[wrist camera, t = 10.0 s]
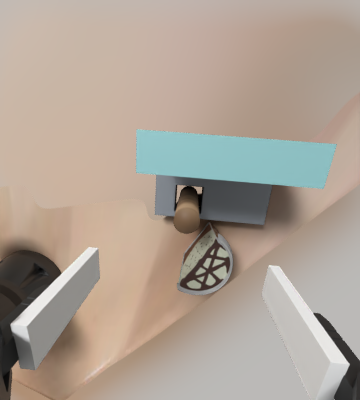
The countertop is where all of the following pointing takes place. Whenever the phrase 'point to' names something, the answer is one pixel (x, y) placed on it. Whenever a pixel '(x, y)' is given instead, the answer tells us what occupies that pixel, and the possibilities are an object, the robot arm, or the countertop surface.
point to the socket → (228, 171)
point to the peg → (187, 211)
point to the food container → (206, 263)
